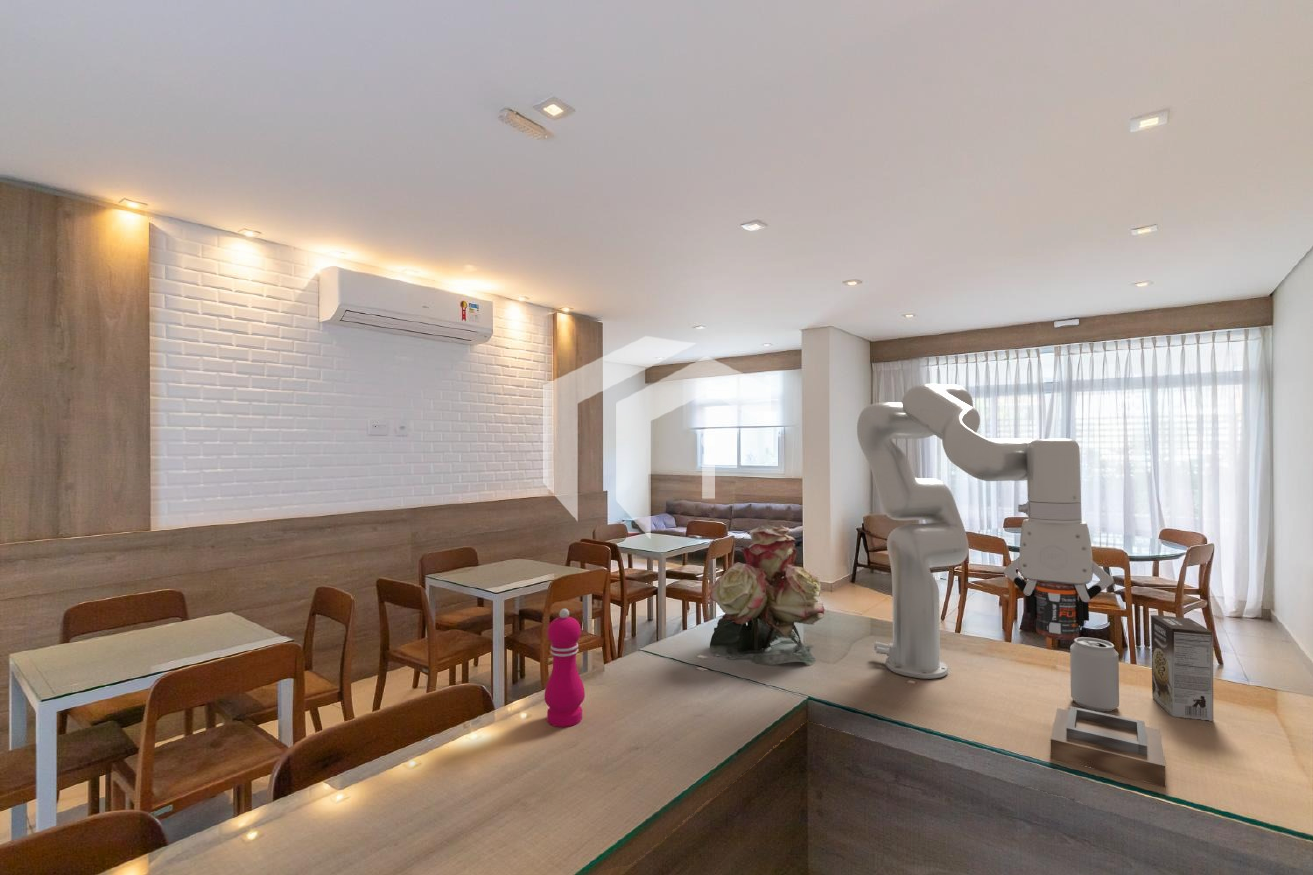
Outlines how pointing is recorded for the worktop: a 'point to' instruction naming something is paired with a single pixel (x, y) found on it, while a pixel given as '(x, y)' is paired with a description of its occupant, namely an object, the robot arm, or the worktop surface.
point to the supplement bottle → (1056, 610)
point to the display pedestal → (1108, 744)
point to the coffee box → (1182, 667)
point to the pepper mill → (564, 673)
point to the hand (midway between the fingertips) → (1057, 620)
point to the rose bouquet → (766, 602)
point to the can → (1094, 674)
